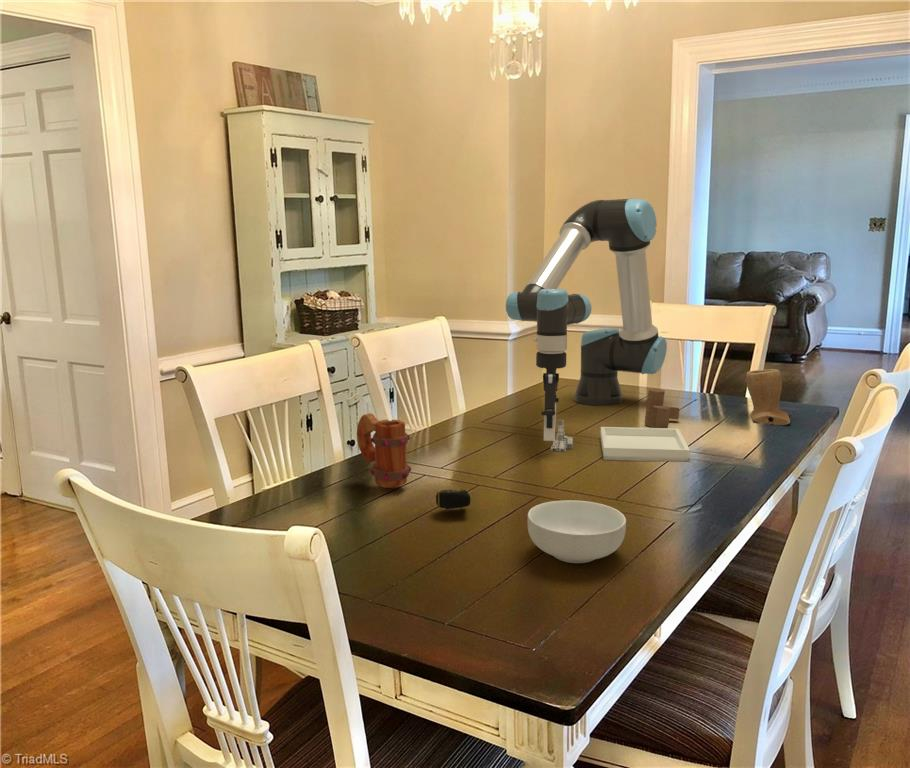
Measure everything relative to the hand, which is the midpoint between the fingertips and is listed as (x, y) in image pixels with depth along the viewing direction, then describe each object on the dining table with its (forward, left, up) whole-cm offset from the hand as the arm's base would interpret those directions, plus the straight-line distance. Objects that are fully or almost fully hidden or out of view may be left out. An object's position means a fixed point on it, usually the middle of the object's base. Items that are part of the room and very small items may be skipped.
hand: (549, 433), depth 200 cm
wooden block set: (-21, +30, -3) cm, 36 cm away
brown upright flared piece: (-31, +60, -4) cm, 68 cm away
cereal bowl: (+67, +6, -4) cm, 67 cm away
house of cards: (+2, +5, -4) cm, 7 cm away
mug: (+33, -36, -4) cm, 49 cm away
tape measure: (+50, -15, -3) cm, 52 cm away
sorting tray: (+1, +23, -3) cm, 23 cm away
